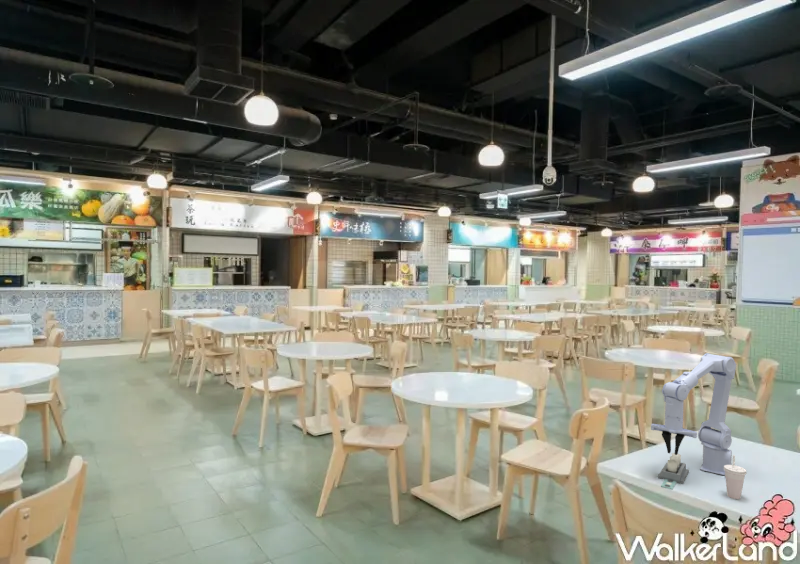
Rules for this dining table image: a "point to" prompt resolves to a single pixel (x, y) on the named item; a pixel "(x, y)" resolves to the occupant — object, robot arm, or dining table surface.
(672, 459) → the button mid
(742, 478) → the smoothie
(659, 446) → the dining table surface
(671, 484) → the card
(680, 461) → the button
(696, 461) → the dining table surface
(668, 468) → the button
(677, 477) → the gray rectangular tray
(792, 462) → the dining table surface
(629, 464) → the dining table surface
